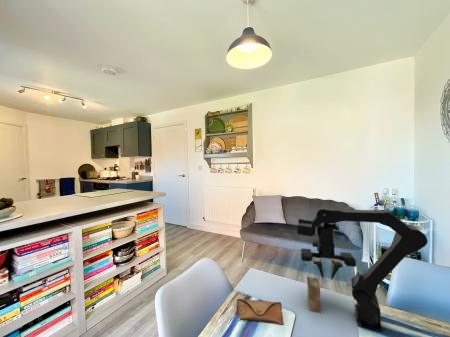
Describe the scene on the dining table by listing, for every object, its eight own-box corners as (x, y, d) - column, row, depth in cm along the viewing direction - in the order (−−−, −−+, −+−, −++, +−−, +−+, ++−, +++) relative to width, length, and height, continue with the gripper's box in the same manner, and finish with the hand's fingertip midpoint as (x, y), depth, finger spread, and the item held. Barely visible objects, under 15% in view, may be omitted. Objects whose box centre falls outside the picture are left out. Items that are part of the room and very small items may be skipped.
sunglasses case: (235, 321, 70) (235, 299, 73) (236, 318, 76) (236, 298, 79) (285, 325, 67) (283, 302, 71) (283, 322, 73) (281, 301, 77)
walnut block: (318, 302, 79) (317, 277, 79) (320, 312, 73) (320, 286, 73) (307, 300, 80) (307, 276, 80) (309, 310, 74) (308, 284, 74)
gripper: (346, 234, 80) (347, 271, 80) (299, 230, 85) (300, 265, 85) (356, 244, 69) (357, 287, 69) (301, 239, 75) (302, 279, 75)
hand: (326, 278), depth 75 cm, fingers open, 3 cm apart
